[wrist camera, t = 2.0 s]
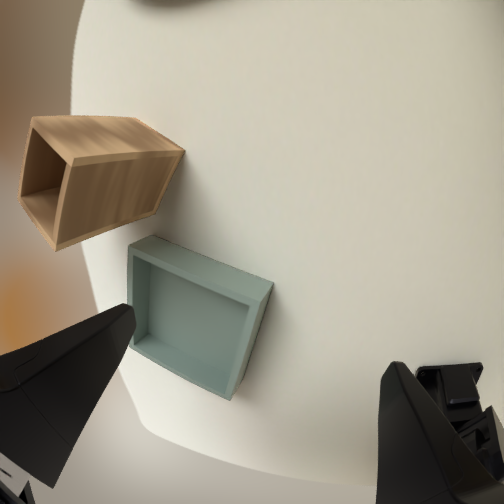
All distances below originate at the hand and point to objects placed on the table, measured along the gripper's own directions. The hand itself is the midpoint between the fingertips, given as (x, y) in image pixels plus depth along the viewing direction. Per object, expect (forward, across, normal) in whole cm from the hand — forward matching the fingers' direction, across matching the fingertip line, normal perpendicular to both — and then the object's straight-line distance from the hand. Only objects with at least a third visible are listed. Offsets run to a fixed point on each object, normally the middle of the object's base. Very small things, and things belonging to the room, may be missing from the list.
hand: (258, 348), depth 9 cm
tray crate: (+11, +6, +10) cm, 16 cm away
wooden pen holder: (+14, +12, -2) cm, 19 cm away
